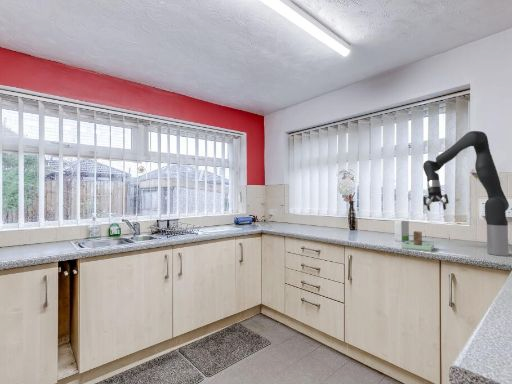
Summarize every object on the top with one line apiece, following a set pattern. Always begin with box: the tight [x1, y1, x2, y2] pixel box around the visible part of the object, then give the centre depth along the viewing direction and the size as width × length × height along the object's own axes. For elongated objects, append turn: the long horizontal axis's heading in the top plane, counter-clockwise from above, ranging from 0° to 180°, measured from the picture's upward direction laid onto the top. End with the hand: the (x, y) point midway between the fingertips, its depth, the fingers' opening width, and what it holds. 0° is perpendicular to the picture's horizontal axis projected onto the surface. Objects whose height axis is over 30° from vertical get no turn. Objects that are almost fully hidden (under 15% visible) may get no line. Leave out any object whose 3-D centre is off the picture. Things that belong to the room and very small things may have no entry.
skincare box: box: [394, 219, 410, 243], centre depth 207 cm, size 8×7×16 cm
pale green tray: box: [401, 240, 435, 253], centre depth 177 cm, size 16×14×3 cm
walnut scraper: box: [413, 231, 423, 246], centre depth 177 cm, size 4×4×10 cm
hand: (436, 210), depth 184 cm, fingers open, 8 cm apart
